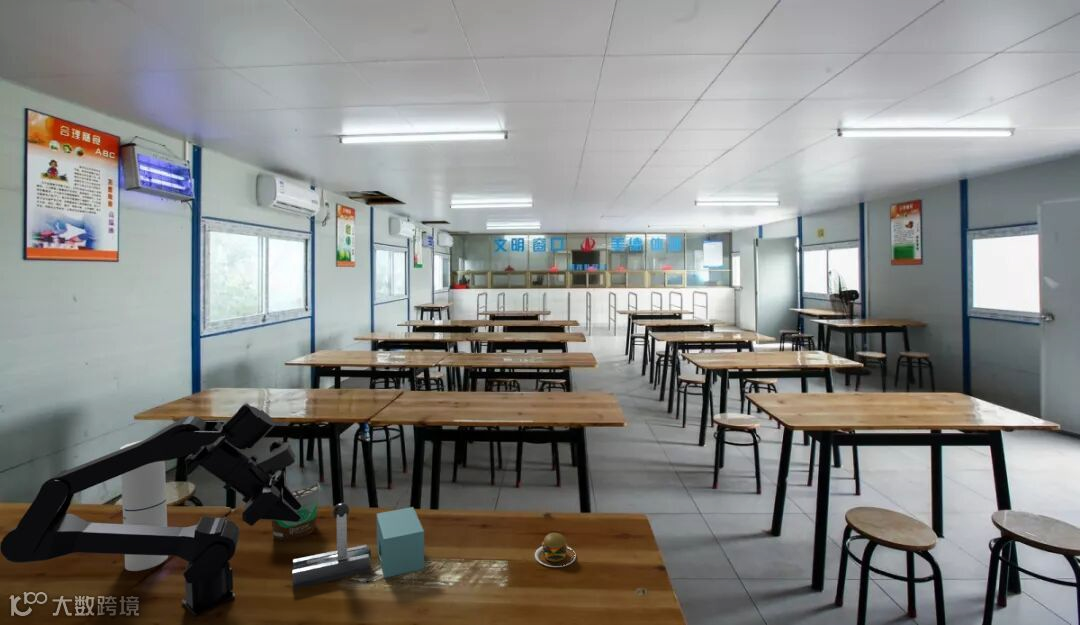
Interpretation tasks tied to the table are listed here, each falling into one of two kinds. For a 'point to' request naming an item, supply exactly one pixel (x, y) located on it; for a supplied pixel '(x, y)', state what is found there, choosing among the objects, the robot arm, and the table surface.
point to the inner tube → (340, 539)
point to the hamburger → (553, 549)
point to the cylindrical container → (144, 506)
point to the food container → (307, 513)
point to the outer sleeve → (328, 568)
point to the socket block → (400, 542)
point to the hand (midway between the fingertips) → (299, 513)
